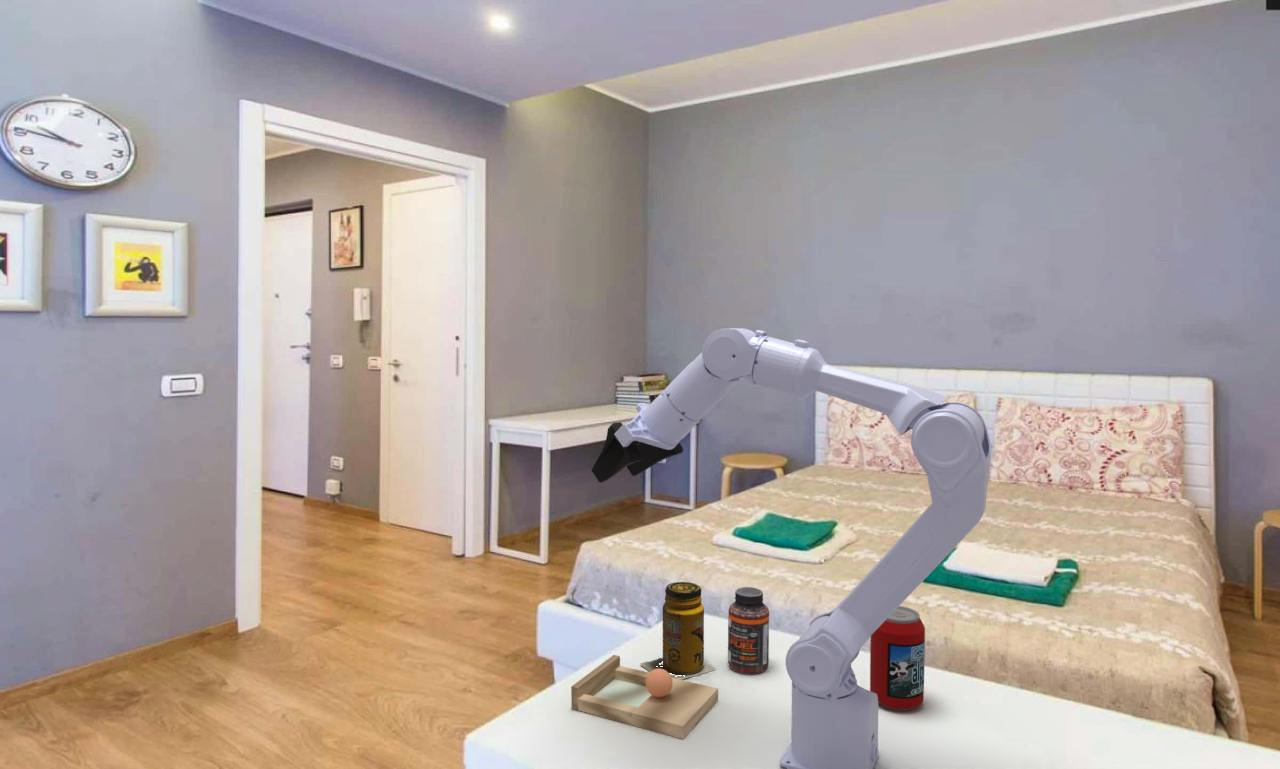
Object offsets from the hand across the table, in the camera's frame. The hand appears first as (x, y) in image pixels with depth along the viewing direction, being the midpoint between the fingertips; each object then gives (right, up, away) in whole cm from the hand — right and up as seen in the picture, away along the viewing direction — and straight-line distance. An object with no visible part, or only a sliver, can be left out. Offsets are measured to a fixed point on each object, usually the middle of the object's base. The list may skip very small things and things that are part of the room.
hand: (614, 473), depth 98 cm
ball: (+6, -27, +1) cm, 28 cm away
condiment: (+9, -30, +13) cm, 34 cm away
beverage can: (+37, -31, +2) cm, 48 cm away
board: (+4, -31, +2) cm, 31 cm away
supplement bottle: (+19, -30, +13) cm, 38 cm away
